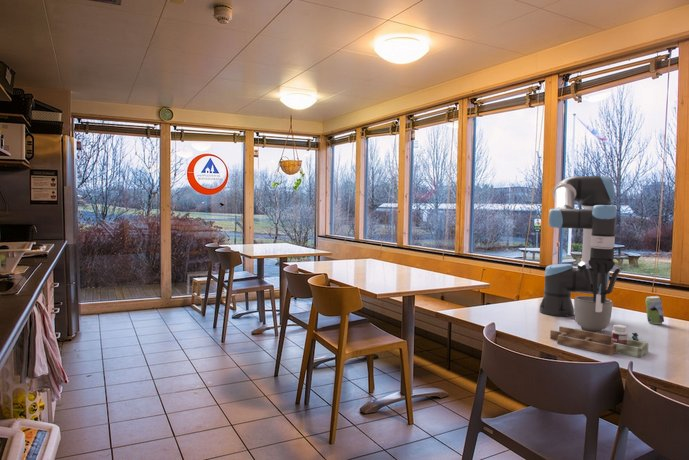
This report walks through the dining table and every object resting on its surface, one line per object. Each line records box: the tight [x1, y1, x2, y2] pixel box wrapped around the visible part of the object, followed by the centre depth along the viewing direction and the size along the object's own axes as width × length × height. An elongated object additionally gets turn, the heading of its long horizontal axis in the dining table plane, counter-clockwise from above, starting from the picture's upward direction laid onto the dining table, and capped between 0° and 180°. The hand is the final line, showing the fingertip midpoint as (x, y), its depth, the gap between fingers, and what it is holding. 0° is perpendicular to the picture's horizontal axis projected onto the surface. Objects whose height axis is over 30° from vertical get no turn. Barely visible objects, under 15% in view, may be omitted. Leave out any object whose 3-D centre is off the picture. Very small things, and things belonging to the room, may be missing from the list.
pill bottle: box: [610, 324, 628, 345], centre depth 168 cm, size 5×5×8 cm
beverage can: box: [644, 295, 665, 325], centre depth 208 cm, size 6×7×12 cm
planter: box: [573, 295, 613, 333], centre depth 193 cm, size 14×14×13 cm
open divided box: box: [549, 325, 649, 358], centre depth 171 cm, size 30×15×3 cm, turn 46°
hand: (598, 311), depth 173 cm, fingers closed
